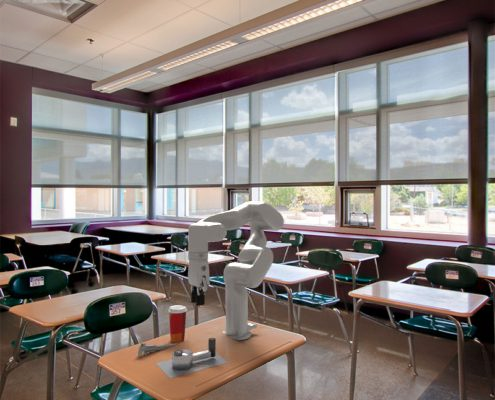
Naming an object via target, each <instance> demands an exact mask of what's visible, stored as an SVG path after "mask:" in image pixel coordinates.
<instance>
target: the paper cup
mask: <svg viewBox="0 0 495 400" xmlns="http://www.w3.org/2000/svg"><path fill="white" fill-rule="evenodd" d="M187 311H188V309H187V306H185V305H182V304H181V305H180V304H177V305H176V304H175V305H171V306H170V307H169V308H168V310H167V312H168V314H169V315H168V317H169V333H170V334H169V335H170V337H169V338H170V343H171V344H175V343H177V344H179V343H180V344H181V343H184V342H185V336H186V335H185V334H186V320H187V319H186V318H187Z"/></svg>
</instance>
